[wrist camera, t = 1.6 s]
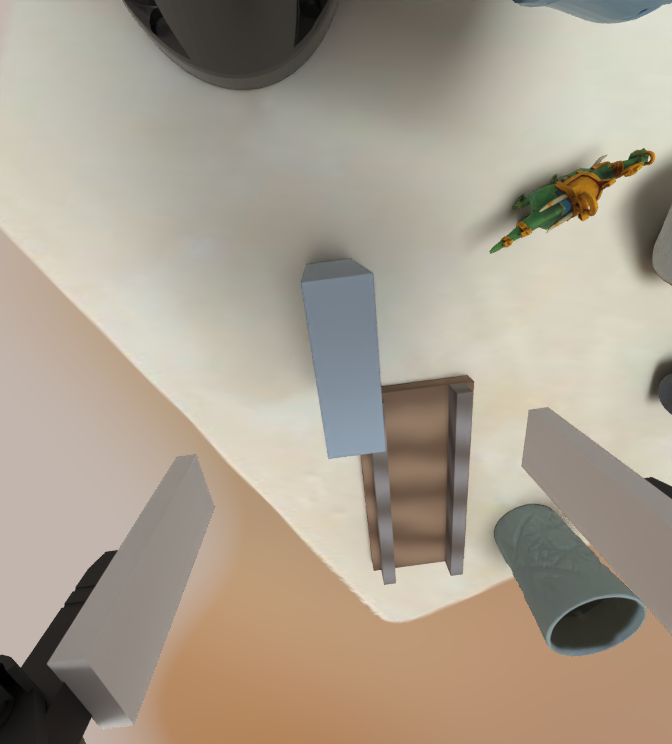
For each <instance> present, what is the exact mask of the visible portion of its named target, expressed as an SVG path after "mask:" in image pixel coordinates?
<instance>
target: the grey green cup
mask: <svg viewBox="0 0 672 744" xmlns="http://www.w3.org/2000/svg"><path fill="white" fill-rule="evenodd" d="M494 536H495V540H496V543H497V545H498V547H499V549H500V551H501V553H502V555H503V557H504V559H505V561H506V563H507V564H508V565H509V566H510V568H511V570H512V572H513V575H514V577H515V579H516V581H517V582H518V584H519V587H520V588H521V590H522V591H523V594H524V598H525V600H526V602H527V604H528V605H529V608H530V610H531V612H532V614H533V616H534V617H535V619H536V622H537V624H538V626H539V628H540V630H541V633H542V635H543V637H544V638H545V641H546V643H547V645H548V646H549V647H550V648H551V649H552V650H553V651H555V652H557V653H559V654H562V655H568V656H582V655H589V654H594V653H598V652H602V651H605V650H607V649H609V648H612V647H614V646H616V645H618V644H620V643H622V642H624V641H625V640H627V639H628V638H630V637H631V636H632V635H633V634H634V633H635V632H636V631H637V630H638V629H639V628H640V627H641V625H642V623H643V621H644V620H645V617H646V607H645V605H644V604H643V602H642V601H641V600H640V599H639V598H638V597H637V596H636V595H635V594H634V593H633V592H632V591H631V590H630V589H629V588H628V587H627V586H626V585H625V584H624V583H623V582H622V581H621V580H620V579H619V578H617V576H616V575H614V574H613V573H612V572H611V571H610V570H609V568H608V567H607V566H605V565H604V564H602V563H601V562H600V561H599V558H598V557H597V556H596V555H595V553H594V552H593V551H592V550H591V549H590V548H589V547H588V546H586V544H585V543H584V542H583V541H582V540H581V539H580V538H579V537H578V536H577V535H575V533H574V532H573V531H572V530H571V529H570V528H569V527H568V525H567V524H566V523H565V522H564V521H563V520H562V519H561V518H560V517H559V516H558V515H557V514H556V513H555V512H554V511H553V510H551V509H550V508H548V507H545V506H542V505H536V504H530V505H524V506H521V507H518V508H515V509H513V510H511V511H510V512H508V513H507V514H506V515H504V516H503V517H502V518H501V519H500V521H499V522H498V524H497V525H496V528H495V532H494Z"/></svg>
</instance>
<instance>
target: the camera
mask: <svg viewBox="0 0 672 744" xmlns="http://www.w3.org/2000/svg"><path fill="white" fill-rule="evenodd" d="M658 394H659V398H660V401H661V403H662V405H663V406H664V408H665V409H666V410H667V411H668V412H669V413H670V414H672V373H670V374H668V375H667V376H665V377H664V378H663V379H662V380H661V382H660V385H659V390H658Z"/></svg>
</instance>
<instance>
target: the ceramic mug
mask: <svg viewBox="0 0 672 744" xmlns="http://www.w3.org/2000/svg"><path fill="white" fill-rule="evenodd" d="M652 263H653V267H654V270H655V272H656V273H657V274H658V275H659V277H660V278H661V279H663V280H664V281H665V282H667V283H669V284H670V285H672V205H671V208H670V210H669V212H668V215H667V217H666V219H665V222H664V224H663V227H662V229H661V232H660V234H659V236H658V238H657V240H656V242H655V245H654V249H653V258H652Z"/></svg>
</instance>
